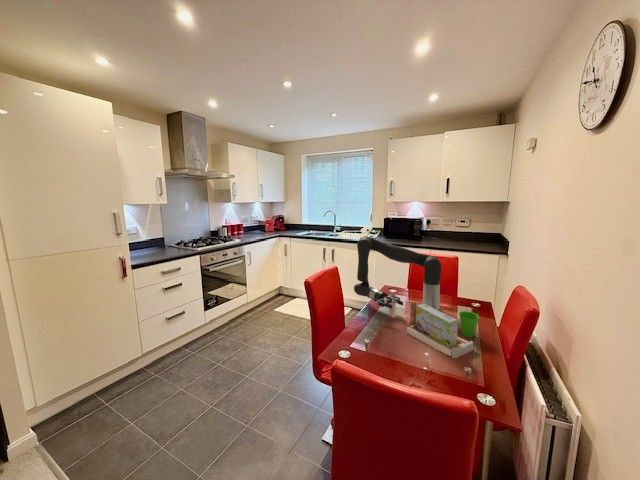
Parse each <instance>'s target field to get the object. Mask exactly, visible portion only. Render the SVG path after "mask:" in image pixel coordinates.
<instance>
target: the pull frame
mask: <svg viewBox="0 0 640 480" xmlns="http://www.w3.org/2000/svg"><path fill="white" fill-rule="evenodd" d="M417 305H418V303H417V302H415V301H411V302H410V310H409V314H410V315H409V326H408V327H409V328H411V329H413V330H415V331H417V332H419V333H420V334H422V335H424V336H426V337H428V338H430V339H432V340H434V341H435V342H437V343H439V344H441V345H443V346H445V347H447V348H448V349H450V350H453V349H455V348H457V347H459V346H461V345H463V344H465V342H463V341H461V340H459V339H457V346H455V347H453V348H450V347H448V346H446V345H444V344H443V343H441V342H439V341H437V340H435V339H433V338H431V337H429V336H427V335H426V334H424V333H422V332H420V331H418V330H416V306H417Z"/></svg>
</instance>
